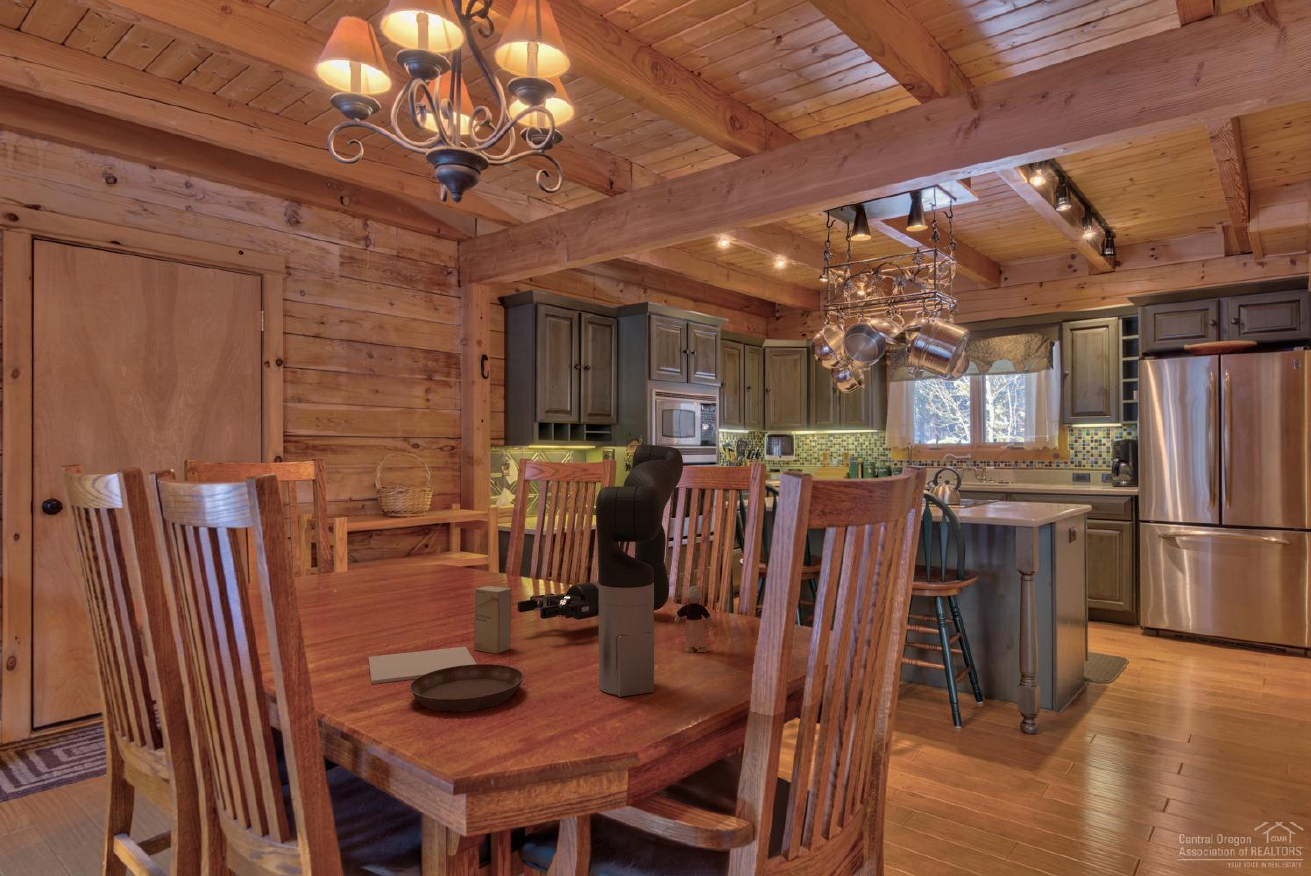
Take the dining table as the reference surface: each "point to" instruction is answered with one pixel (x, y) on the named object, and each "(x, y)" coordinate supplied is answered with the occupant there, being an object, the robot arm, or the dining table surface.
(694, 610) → the grandmother figurine
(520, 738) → the dining table surface
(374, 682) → the mat
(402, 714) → the dining table surface
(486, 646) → the skincare box
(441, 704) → the plant saucer
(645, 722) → the dining table surface
